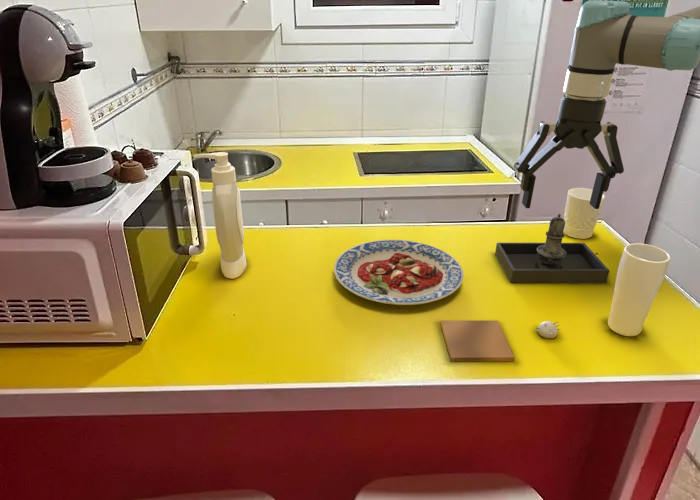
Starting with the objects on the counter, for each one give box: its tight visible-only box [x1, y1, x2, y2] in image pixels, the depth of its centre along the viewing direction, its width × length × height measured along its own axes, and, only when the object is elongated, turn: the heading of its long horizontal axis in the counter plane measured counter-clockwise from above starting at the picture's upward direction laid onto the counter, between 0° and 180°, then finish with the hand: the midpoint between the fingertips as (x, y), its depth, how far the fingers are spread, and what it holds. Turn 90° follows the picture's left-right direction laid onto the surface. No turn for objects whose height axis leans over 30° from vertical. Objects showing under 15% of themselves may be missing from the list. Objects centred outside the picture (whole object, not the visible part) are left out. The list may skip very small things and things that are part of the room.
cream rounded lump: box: [535, 320, 561, 339], centre depth 88 cm, size 3×4×3 cm
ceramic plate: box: [333, 239, 465, 306], centre depth 104 cm, size 26×26×3 cm
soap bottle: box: [193, 151, 248, 280], centre depth 102 cm, size 13×8×24 cm, turn 7°
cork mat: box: [440, 320, 515, 362], centre depth 86 cm, size 10×10×1 cm
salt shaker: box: [535, 213, 567, 269], centre depth 106 cm, size 6×6×12 cm
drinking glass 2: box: [607, 242, 671, 337], centre depth 87 cm, size 7×7×15 cm
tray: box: [494, 242, 611, 284], centre depth 108 cm, size 19×12×3 cm, turn 91°
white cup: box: [563, 187, 606, 240], centre depth 122 cm, size 8×8×10 cm
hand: (559, 206), depth 103 cm, fingers open, 13 cm apart
